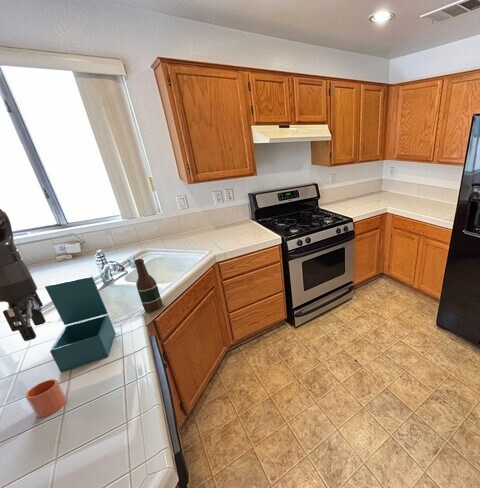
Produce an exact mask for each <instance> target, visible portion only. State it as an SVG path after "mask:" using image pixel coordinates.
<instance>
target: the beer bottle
mask: <svg viewBox="0 0 480 488" xmlns="http://www.w3.org/2000/svg"><path fill="white" fill-rule="evenodd" d="M133 264H134V265H135V268H136V272H137V273H136V274H137V279H136V283H135V286H136V290H137V293H138V296H139V299H140V302H141V305H142V308H143V310H144V312H146V313H150V312H152V313H153V312H154V311H158V310H159V309H161V308H162V307H163V301H162V297H161V294H160V291H159V287H158V284H157V281H156V280H155V278H153V276H152V275H151V274H149V272H148V270H147V267H146V265H145V260H144V259H143V258H137V259H135V260H134V261H133Z"/></svg>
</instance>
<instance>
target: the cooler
mask: <svg viewBox="0 0 480 488" xmlns="http://www.w3.org/2000/svg"><path fill="white" fill-rule="evenodd" d="M115 336H116V330H115V328H114V326H113V323H112V320H111V318H110V316H109V314H105V315H101V316H97V317H94V318H90V319H86V320H82V321H79V322H75V323H71V324H68V325H64V327H63V329H62V331H61V332H60V334H59V335H58V337H57V339H56V340H55V342H54V344H53V345H52V346H51V348H50V350H49V352H50V354H51V356H52V358H53V360H54V362H55V365H56V366H57V368H58V370H59V372H60V373H64V372H67V371H70V370H73V369H75V368H79V367H82V366H85V365H87V364H91V363H94V362H97V361H100V360H103V359H106V358H108V357H109V356H110V352H111V349H112V345H113V342H114V339H115ZM96 360H97V361H96ZM93 361H94V362H93Z"/></svg>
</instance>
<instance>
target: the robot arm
mask: <svg viewBox="0 0 480 488" xmlns="http://www.w3.org/2000/svg"><path fill="white" fill-rule="evenodd" d="M24 261H25V260H23V258H22V256H21V254H20V251H19V249H18V247H17V245H16V244H15V241H14V233H13V228H12V224H11V221H10V218H9V216H8V213H7V212H6V211H5V210H4V209H3V208H2V207H1V206H0V303H7V305H8V307H7V308H8V309H4V310H3V311H2V314H3V316H4V318H5V320H6V322H7V324H8V327H9V328H10V330H11V332H14V333H15V332H18V333H19V334H20V336H21V338H22V340H23V341H24V342H29V341H32V340H35V339H36V338H37V334H36V332H35V330H34V328H33V326H32V324H31V321H32V323H33V325H34V326H35V327H36V326H40V325H44V324H45V323H46V319H45V316H44V314H43V313H42V310H43V308H42V307H43V306H44V304H43V302H42V300H41V299H40V296H39V295H38V292H37V290H38V286H37V285H36V282H35V280H34V278H33V276H32V274H31V271H30V269H29V268H28V266H27V264H26V263H25V262H24Z"/></svg>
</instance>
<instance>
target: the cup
mask: <svg viewBox="0 0 480 488" xmlns="http://www.w3.org/2000/svg"><path fill="white" fill-rule="evenodd" d="M25 399H26V400H27V402H28V403H29V405H30V407H31V409H32V410H33V412H34V414H35V415H36V417H38V418H46V417H48V416H51V415H53V414H55V413H56V412H58V411H59V410H60V409H62V408H63V407H64V406H65V404H66V403H67V398H66V396H65V394H64V392H63V390H62V388H61V386H60V384H59V382H58V380H57V379H54V378H52V379H46V380H44V381H42V382H39V383H38V384H36V385H34V386H32V387H31V388H30V389H29V390H28V391H27V392H26V393H25Z"/></svg>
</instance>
